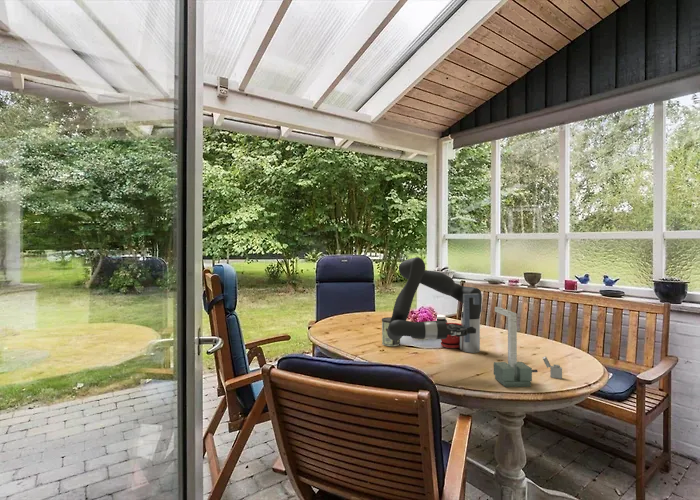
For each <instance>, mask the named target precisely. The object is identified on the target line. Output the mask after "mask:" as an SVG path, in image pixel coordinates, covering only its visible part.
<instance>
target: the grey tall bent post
mask: <svg viewBox="0 0 700 500" xmlns="http://www.w3.org/2000/svg"><path fill="white" fill-rule="evenodd" d="M494 313H498V314H500V315H501V316H505V317H507V362H506V361H493V375H494V380H496V381H497V382H498V383H500V385H502V386H504V388H524V387H527V388H531V386H532V385H531V384H532V383H531V382H533V373H538V369H532V367H531V366H529V365H527V364H526V363H525V362H522V361H517V360H518V359H517V356H518V355H517V352H518V351H517V350H518V345H517V344H518V343H517V342H518V339H517V338H518V335H517V333H518V329H517V326H518V324H517V323H518V322H517V321H518V320H517V319H518V318H517V316H518V315H517V312H513V311H511V310H509V309H506V308H503V307H500V306H494Z"/></svg>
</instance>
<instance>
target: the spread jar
mask: <svg viewBox="0 0 700 500" xmlns="http://www.w3.org/2000/svg"><path fill="white" fill-rule="evenodd" d="M436 315H437V321H445V322H446V323H449V322H448V320H447V317H446V316H447V315H443V314H436Z"/></svg>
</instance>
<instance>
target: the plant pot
mask: <svg viewBox="0 0 700 500" xmlns="http://www.w3.org/2000/svg"><path fill="white" fill-rule="evenodd" d="M446 324H447V326H448V324H454V325H461V323H457V322H448V323H446ZM440 345H441V346H442V347H444V348H446V349H460V337H457V336H456V335H455V336H451V335H449V334H448V335H447V338H446V339H440Z"/></svg>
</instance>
